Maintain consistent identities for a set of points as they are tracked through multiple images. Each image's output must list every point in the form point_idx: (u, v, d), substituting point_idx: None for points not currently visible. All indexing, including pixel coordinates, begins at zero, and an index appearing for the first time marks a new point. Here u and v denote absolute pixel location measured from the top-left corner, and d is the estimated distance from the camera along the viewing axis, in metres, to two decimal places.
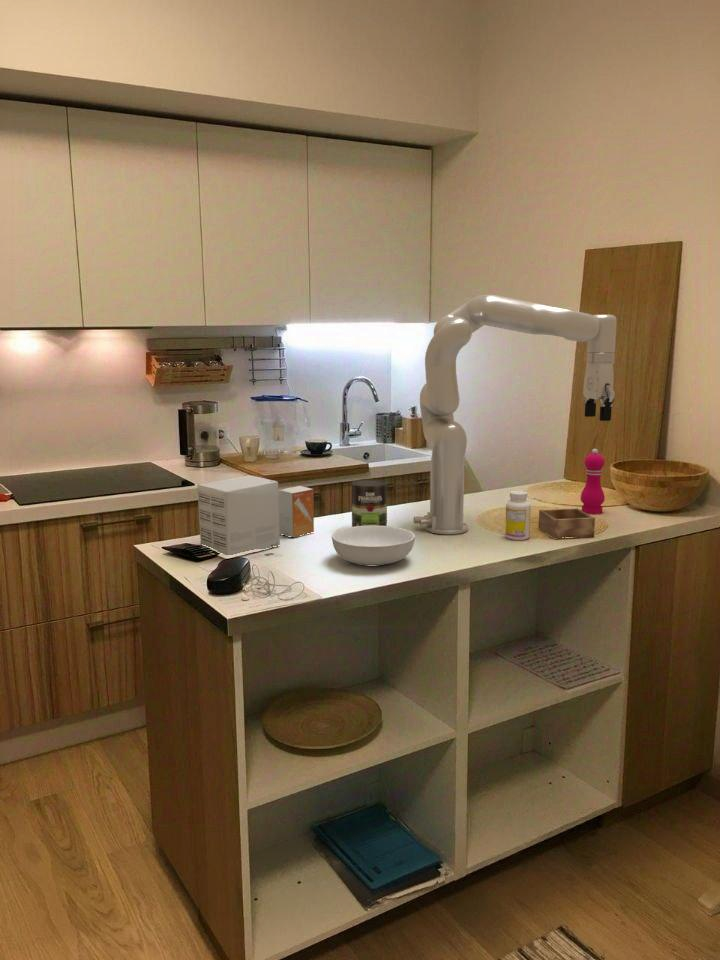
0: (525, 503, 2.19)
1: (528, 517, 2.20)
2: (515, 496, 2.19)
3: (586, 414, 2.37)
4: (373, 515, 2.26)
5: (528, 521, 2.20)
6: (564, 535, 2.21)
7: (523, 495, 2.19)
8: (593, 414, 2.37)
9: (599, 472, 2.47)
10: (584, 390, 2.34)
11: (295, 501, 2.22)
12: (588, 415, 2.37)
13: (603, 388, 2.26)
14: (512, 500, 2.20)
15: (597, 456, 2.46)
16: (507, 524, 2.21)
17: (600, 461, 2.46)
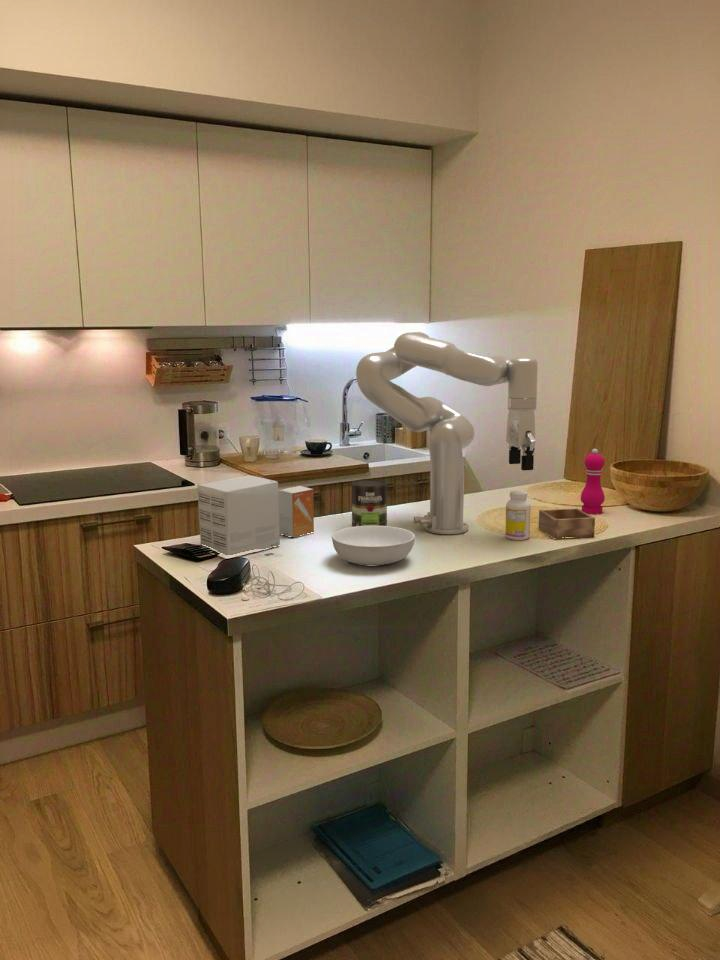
0: (525, 503, 2.19)
1: (528, 517, 2.20)
2: (515, 496, 2.19)
3: (510, 461, 2.23)
4: (373, 515, 2.26)
5: (528, 521, 2.20)
6: (564, 535, 2.21)
7: (523, 495, 2.19)
8: (518, 461, 2.23)
9: (599, 472, 2.47)
10: (507, 436, 2.21)
11: (295, 501, 2.22)
12: (512, 462, 2.23)
13: (524, 436, 2.12)
14: (512, 500, 2.20)
15: (597, 456, 2.46)
16: (507, 524, 2.21)
17: (600, 461, 2.46)
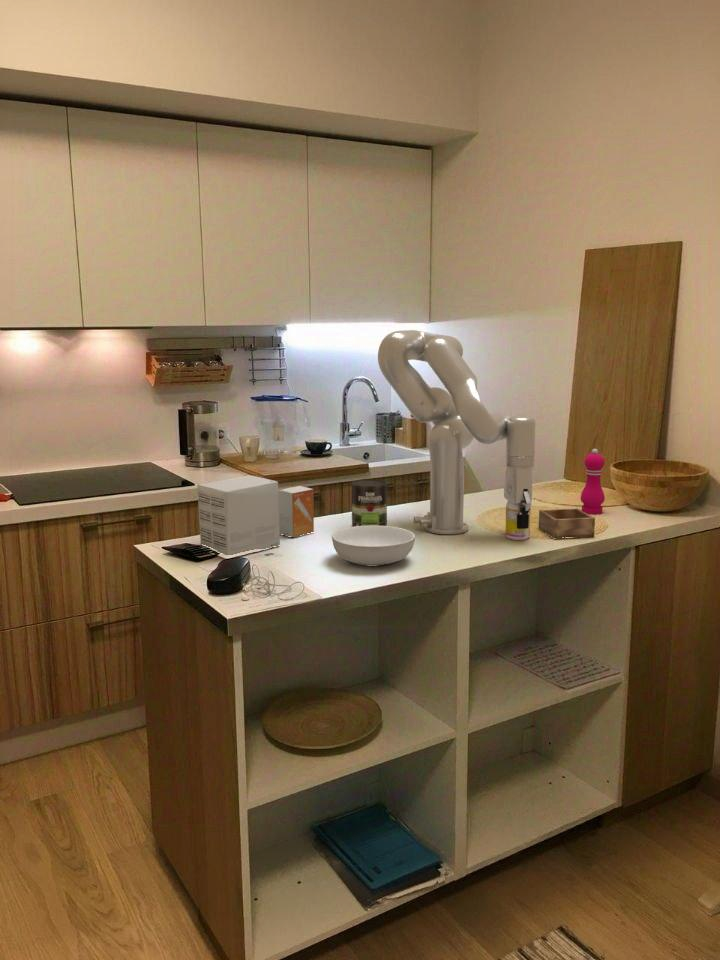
0: None
1: None
2: None
3: None
4: (373, 515, 2.26)
5: None
6: (564, 535, 2.21)
7: None
8: None
9: (599, 472, 2.47)
10: (504, 492, 2.24)
11: (295, 501, 2.22)
12: None
13: (521, 494, 2.15)
14: None
15: (597, 456, 2.46)
16: (507, 524, 2.21)
17: (600, 461, 2.46)
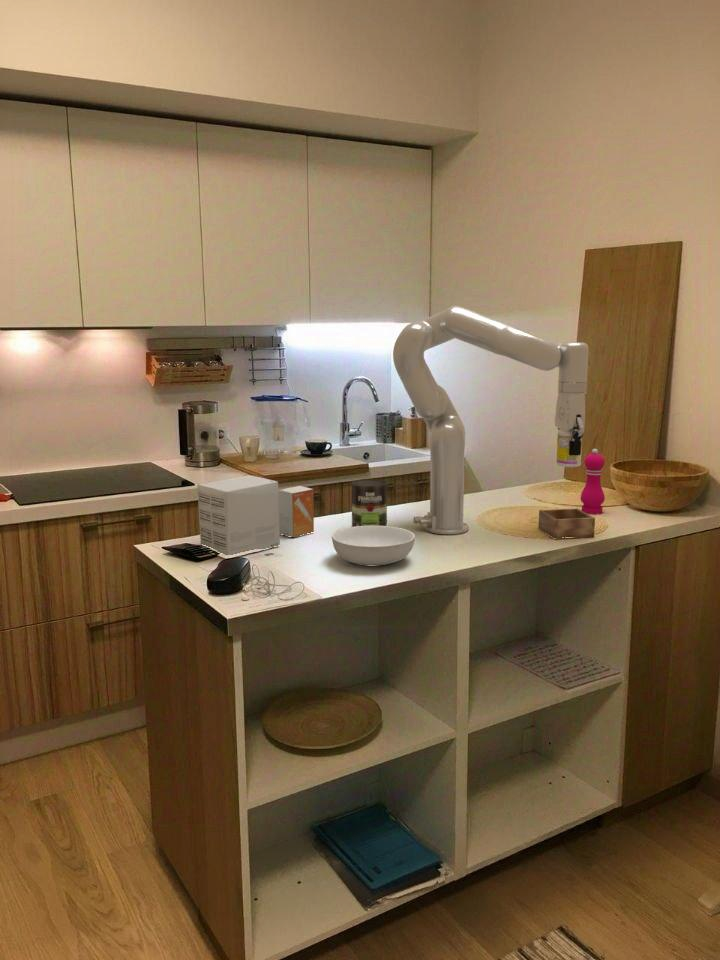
0: None
1: None
2: None
3: None
4: (372, 515, 2.26)
5: None
6: (564, 535, 2.21)
7: None
8: None
9: (599, 472, 2.47)
10: (556, 420, 2.24)
11: (295, 501, 2.22)
12: None
13: (574, 419, 2.16)
14: None
15: (597, 456, 2.46)
16: (559, 451, 2.22)
17: (600, 461, 2.46)
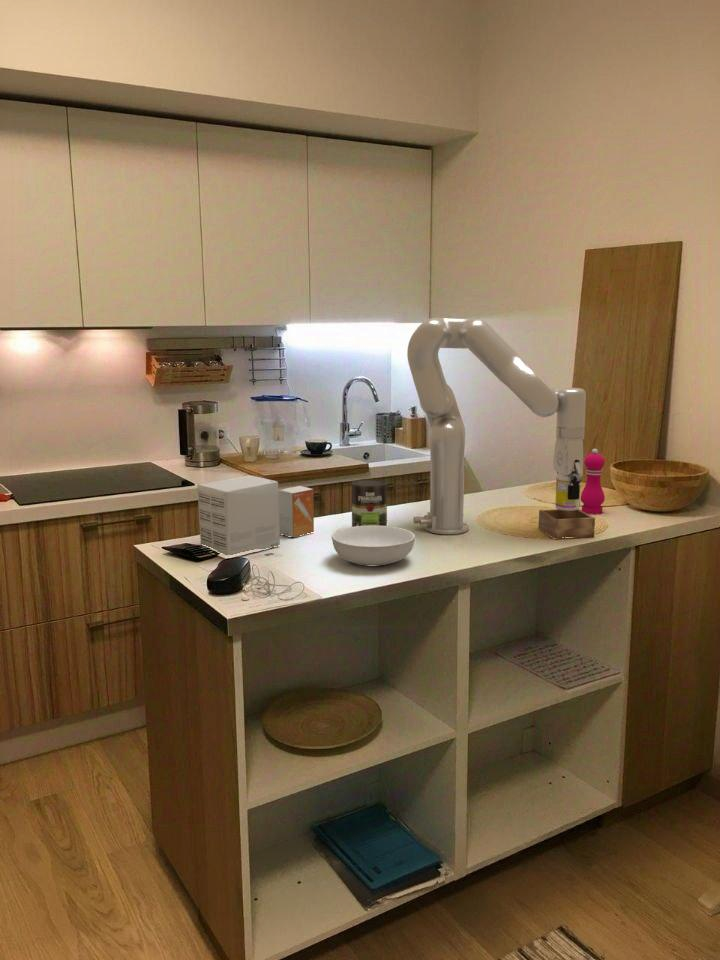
0: None
1: None
2: None
3: None
4: (372, 515, 2.26)
5: None
6: (564, 535, 2.21)
7: None
8: None
9: (599, 472, 2.47)
10: (554, 464, 2.27)
11: (295, 501, 2.22)
12: None
13: (572, 465, 2.18)
14: None
15: (597, 456, 2.46)
16: (558, 495, 2.24)
17: (600, 461, 2.46)
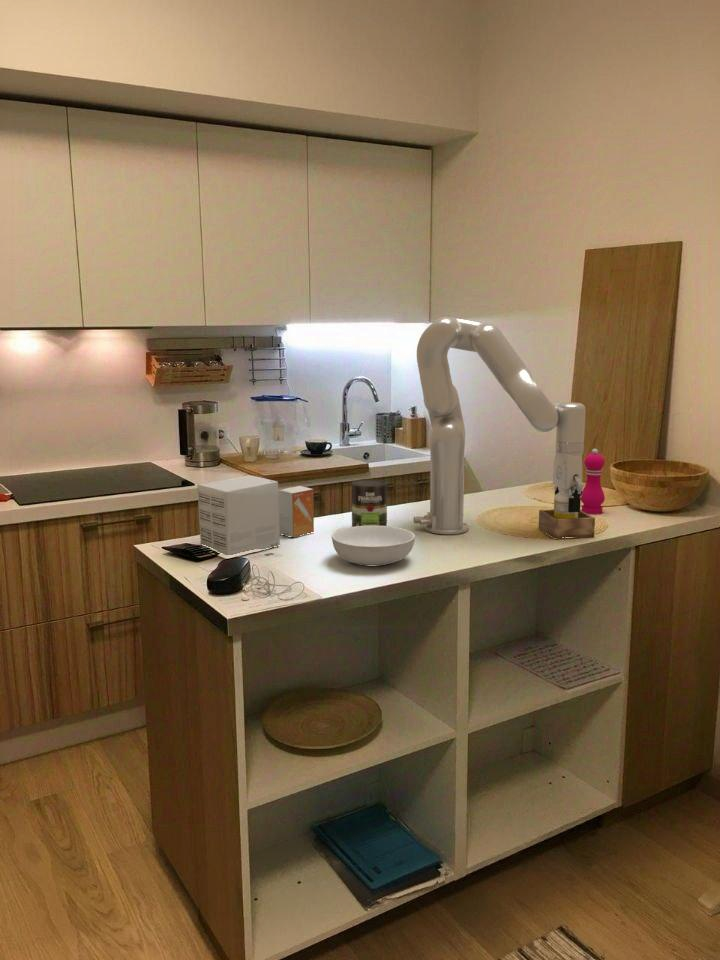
0: None
1: None
2: None
3: None
4: (373, 515, 2.26)
5: (577, 513, 2.24)
6: (564, 535, 2.21)
7: None
8: None
9: (599, 472, 2.47)
10: (553, 478, 2.27)
11: (295, 501, 2.22)
12: None
13: (572, 479, 2.19)
14: (561, 493, 2.24)
15: (597, 456, 2.46)
16: (556, 516, 2.25)
17: (600, 461, 2.46)
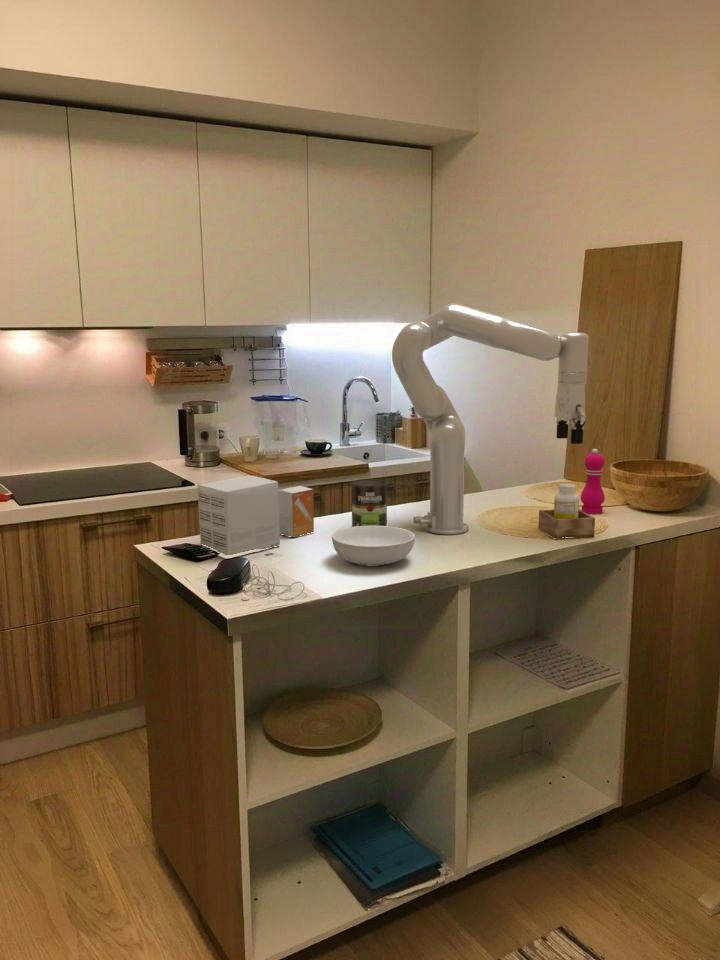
0: (574, 495, 2.23)
1: (577, 509, 2.24)
2: (564, 488, 2.23)
3: (558, 436, 2.26)
4: (372, 515, 2.26)
5: (577, 513, 2.24)
6: (564, 535, 2.21)
7: (572, 488, 2.23)
8: (565, 436, 2.27)
9: (599, 472, 2.47)
10: (555, 411, 2.24)
11: (295, 501, 2.22)
12: (560, 437, 2.27)
13: (574, 410, 2.15)
14: (561, 493, 2.24)
15: (597, 456, 2.46)
16: (556, 516, 2.25)
17: (600, 461, 2.46)
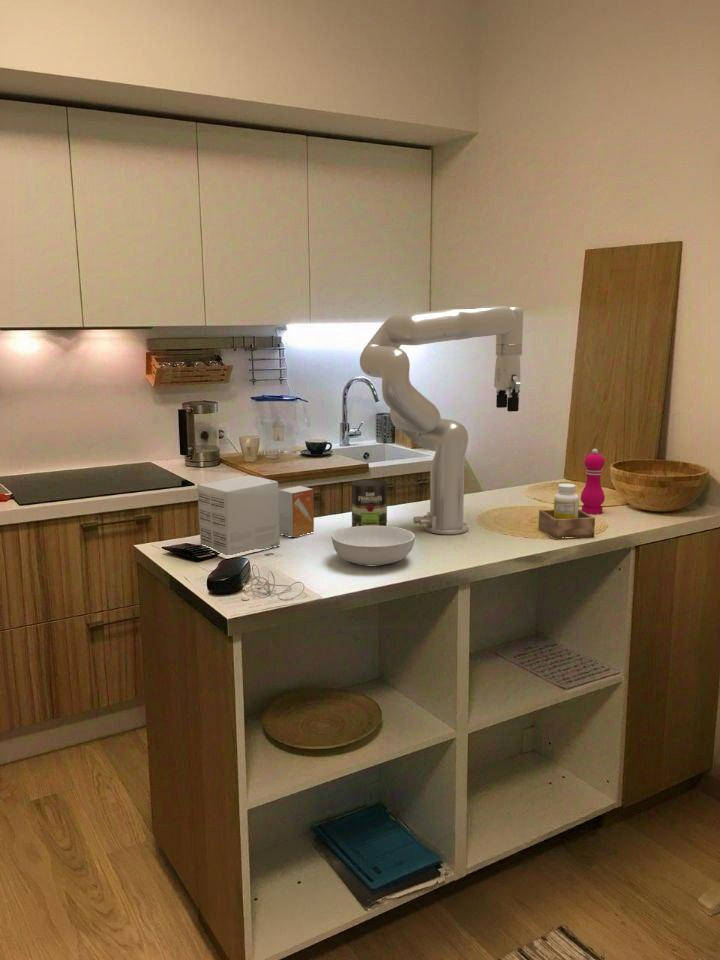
0: (574, 495, 2.23)
1: (577, 509, 2.24)
2: (564, 488, 2.23)
3: (497, 405, 2.40)
4: (372, 515, 2.26)
5: (577, 513, 2.24)
6: (564, 535, 2.21)
7: (572, 488, 2.23)
8: (504, 405, 2.41)
9: (599, 472, 2.47)
10: (494, 381, 2.38)
11: (295, 501, 2.22)
12: (499, 406, 2.41)
13: (510, 379, 2.29)
14: (561, 493, 2.24)
15: (597, 456, 2.46)
16: (556, 516, 2.25)
17: (600, 461, 2.46)
